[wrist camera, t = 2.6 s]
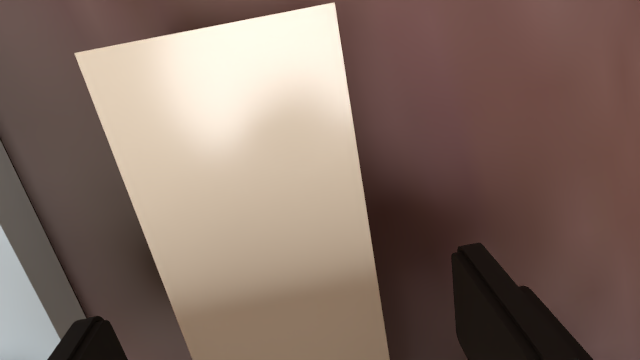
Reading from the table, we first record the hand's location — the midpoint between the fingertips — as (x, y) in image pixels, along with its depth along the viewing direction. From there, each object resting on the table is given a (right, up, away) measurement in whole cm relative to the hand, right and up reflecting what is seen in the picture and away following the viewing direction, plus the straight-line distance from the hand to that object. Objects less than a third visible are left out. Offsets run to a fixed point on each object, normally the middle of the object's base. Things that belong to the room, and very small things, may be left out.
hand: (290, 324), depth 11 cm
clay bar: (0, +1, +4) cm, 4 cm away
